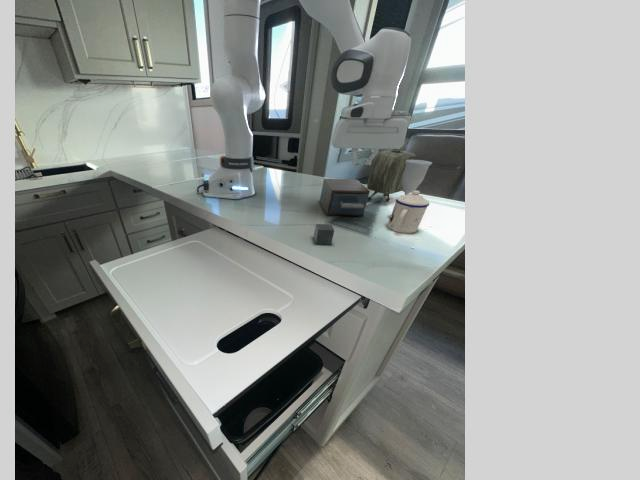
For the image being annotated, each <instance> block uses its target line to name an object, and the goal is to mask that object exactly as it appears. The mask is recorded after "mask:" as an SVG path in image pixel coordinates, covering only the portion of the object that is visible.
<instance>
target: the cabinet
mask: <svg viewBox="0 0 640 480" xmlns="http://www.w3.org/2000/svg"><path fill="white" fill-rule="evenodd" d="M321 186H322V187H321V190H320V191H321V192H320V197H319V202H320V205H321V206H322V208H323V210H324V212H325V214H326V215H327V216H346V217H347V216H348V217H349V216H350V217H363V216H364V213H365V209H366V206H367V204H366V205H365V208H364V211H363V215H355V214H330V213H329V211H330V207H331V202H332V197H333V193H364V194H368V197H369V196H370V193H371V190H369V189H367V186H366V185H364V184H362V182H360V180H358V179H351V178H350V179H349V178H348V179H347V178H323V181H322V185H321ZM367 199H368V198H367ZM367 202H368V200H367V201H366V203H367Z"/></svg>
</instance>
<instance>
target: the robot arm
mask: <svg viewBox="0 0 640 480" xmlns="http://www.w3.org/2000/svg"><path fill="white" fill-rule="evenodd" d="M261 1H262V0H224V10H223V13H224V14H223V23H224V24H223V50H224V55H225V57H226V58H227V60H228V63H229V66H230V71H231V75H223V76H222V77H219V78H217V79H215V80H214V82H213V83H212V84H211V86H210V91H209V99H210V103H211V106H212V108H213V109H214V110H215V112H216V113H217V115H218V117H219V120H220V123H221V126H222V132H223V137H224V139H223V141H224V155H221V156H220V158H219V165H220V166H219V167H218V168H217V169H216V170H215V171H214V172H213V173H212V174H210V176H209V177H208V179H205V180H202V181H203V182H202V184H199V185H198V186H197V188H196V193H197V194H199V193H200V192H199V191H200V188H202V187H203V190H202V195H203V196H204V197H207V198H218V199H231V200H240V199H241V200H242V199H243V198H247V197H252V196H253V195H255V194H256V190H255V188H254V179H253V171H254V156H253V150H254V149H253V147H254V134H253V132H252V130H251V129H250V126H249V123H248V117H247V115H251V114H254V113H256V112H257V111H258V110H260V109H261V108H262V107H263V105H264V103H265V99H266V91H265V88H264V85H263V84H262V81H261V75H260V66H259V56H258V55H259V52H258V51H259V50H258V49H259V31H260V13H261V11H260V10H261ZM298 2H299V3H300V5H301V7H302V8H303V9H304V11H305V12H306V13H307V15H308V16H310V18H312V19H314V20H315V21H316V22H318V23H320V24H321V25H322V26H323V27H325V28H326V29H327V30H328V32H330V34H331V35H332V38H333V39H334V41H335V43H336V45H337V48H338V50H339V53H340V54H339V55H338V57H337V58H336V59H335V61H334V63H333V65H332V68H331V72H330V83H331V86H332V88H333V90H334V91H335V92H336V93H338V94H339V95H343V96H353V97H356V98H360V102H357V103H354V104H351V105H348V106H345V107H343V108H342V109H341V110H340V111H341V112H340V117H341V118H339V119H338V121H337V122H336V125H335V127H334V130H333V133H332V138H331V145H332V147H333V148H335V149H351V150H350V152H351V156H352V162H351V165H352V166H359V163H360V158H359V157H357V153H359V149H364V150H365V149H367V150H368V149H369V150H371V151H370V152H371V153H370V155H369V157H365V159H364V162H363V165H364V166H372V163H373V162H372V161H373V160H374V159H375V158H376V156H377V154H378V153H379V151H380V150H391V149H400V148H401V147H402V146H403V144H405V142H406V141H405V139H406V138H407V137H406V136H407V134H408V131H407V129H409V126H410V125H411V121H412V114H411V113H410V112H409V110H394V109H395V108H394V107H395V105H396V101H397V98H398V90H399V85H400V83H401V81H402V79H403V76H404V74H405V71H406V68H407V64H408V59H409V55H410V51H411V46H412V37H411V35H410V33H409V32H408V31H406V30H405V29H401V28H400V27H393V26H391V27H390V26H389V27H388V26H386V27H384V28H381V29H380V30H379V31H378V32H377V33H376V34H375V35H374V36H372V37H371V38H369V39H368V40H367V41H366V40H365V37H364V35H363V32H362V30H361V28H360V25H359V22H358V20H357V17H356V15H355V13H354V10H353V8H352V5H351V1H350V0H298ZM404 141H405V142H404Z"/></svg>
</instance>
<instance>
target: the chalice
mask: <svg viewBox="0 0 640 480" xmlns="http://www.w3.org/2000/svg"><path fill="white" fill-rule="evenodd" d="M432 164H433V162H432V161H429V160H422V159H417V160H406V167H405V170H404V173H403V176H402V189H403V190H402V192H403V193H404V195H407V194H410V193H412V192H413V191H414V190H416V189H417V188H418V187H419V186H420V185H421V184H422V182H423V181H424V179H425V177H426V174H427V172H428V169H429V167H430V166H431V165H432ZM390 217H391V215H390V216H389V218H390Z"/></svg>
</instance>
